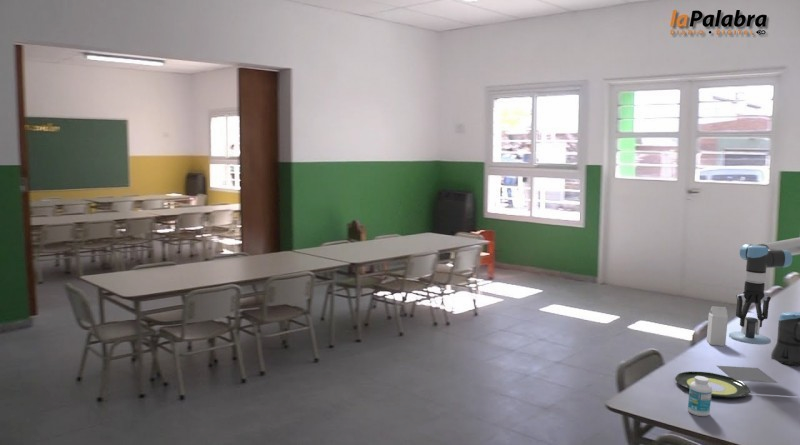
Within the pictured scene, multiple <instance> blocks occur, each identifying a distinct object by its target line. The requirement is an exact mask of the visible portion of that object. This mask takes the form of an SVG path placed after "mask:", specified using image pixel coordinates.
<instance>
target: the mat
mask: <svg viewBox="0 0 800 445" xmlns="http://www.w3.org/2000/svg"><path fill="white" fill-rule="evenodd" d="M716 367H717V368H718V369H719V370H721V371H722V372H723V373H724V374H725V375H727V377H731V378H733V379H736V380H738V381H741V382H755V383H756V382H757V383H758V382H759V383H773V384H774V383H776V384H777V383H778V382H777V381H776V380H775V379H774V378H772V377H771V376H770V375H768V374H767V373H765V372H764V371H763V370H761V368H759V367H749V366H747V367H746V366H730V365H729V366H728V365H727V366H726V365H716Z"/></svg>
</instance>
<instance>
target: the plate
mask: <svg viewBox="0 0 800 445" xmlns="http://www.w3.org/2000/svg"><path fill="white" fill-rule="evenodd" d="M695 376H703V377H706V378H708V379H709V381H708V383H709V384H711V383H712V384H715V385H719V386H721V387H723V388H724V389H723V390H712V393H711V397H715V398H724V399H726V398H727V399H733V398H742V397H745V396H747V395H749V394H751V389H750V387H749V386H748V385H747V384H746V383H744V382H743V381H738V380H736V379H733V378H731V377H729V376H728V375H727V376H726V375H723V374H719V373H713V372H709V371H708V372H706V371H683V372H679V373H678V374H676V375H675V378H674V379H675V381H676V383H677V384H678V385H680V386H682V387H683V388H686V389H688V390H690V384H691V383H692V382H695V380H694V379H695Z"/></svg>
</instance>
